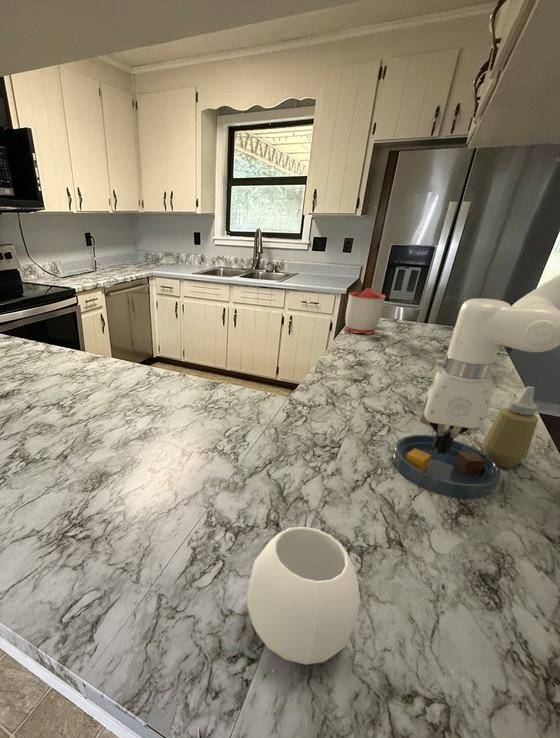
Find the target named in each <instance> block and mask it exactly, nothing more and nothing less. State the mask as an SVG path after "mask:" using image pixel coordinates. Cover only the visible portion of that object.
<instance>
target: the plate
mask: <svg viewBox="0 0 560 738" xmlns="http://www.w3.org/2000/svg"><path fill="white" fill-rule="evenodd" d="M434 437H435V435H430V434H412V435H408V436H404V437H402V438H401V439H400V438H399V440H397V442H396V444H395V445H394V449H393V453H392V457H391V459H392V465H393V466H394V468H395V469H396V470H397V472H399V473H400V474H401V475H402V476H403V477H404V478H406V479H407V480H408V481H410V482H411V483H414V485H415V484H416V485H417V486H419V487H421V488H424V489H426V490H428V491H431V492H433V493H436V494H440V495H443V496H448V497H452V498H460V499H481V498H484V497H487V496H490V495H491V494H492V493H493V492H494V491H495V490H496V488H497V485H498V483H499V481H500V479H501V469H500V466H498V465H497V464H496V463H495V462H494V461H493V460H492V459H491V458H490V457H489V456H487V455H486V454H484V453H483V452H482V451H481V450H479V449H478V448H475V447H473V446H471V445H469V444H466V443H464V442H462V441H458V440H455V439H453V442H452V445H451V448H450V450H449V449H447V452H446V455H444V454H442V453H440V454H438V453H436V450H435V447H433V440H434ZM415 448H416V449H418V450H420V451H423V452H425V453H427V454H430V455H431V458H430V461H429V464H428V467H427V469H426V470H425V471H421V470H419V469H417V468H415V467H414V466H412V465H411V464H410V463H408V462H407V461H406V460H405V459H406V456H407V453H409V452H410V451H412V450H413V449H415ZM459 452H476V453H477V454H478V455H479V456H480V457H481V458H482V459H483V460H484V461H485V463H484V466H483V468H482V471H481V473H480V475H466V474H462V473H461V472H460V471H459V470H458V469H457V468H456V466H455V465H454V464H455V462H456V459H457V456H458V454H459Z"/></svg>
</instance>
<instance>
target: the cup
mask: <svg viewBox="0 0 560 738" xmlns="http://www.w3.org/2000/svg"><path fill="white" fill-rule="evenodd" d="M360 605H361V593H360V586H359V580H358V576H357V572H356V568H355V566H354V564H353V561H352V560H351V557H350V555H349V553H348V552H347V550H346V549H345V547H344V546H343V544H342V543H341V542H340V541H339V540H337V539H336V538H335V537H334V536H333V535H331V534H329V533H327V532H325V531H323V530H320V529H318V528H314V527H307V526H298V527H297V526H295V527H289V528H287V529H285V530H283V531H280V532H279V533H277V534H276V535H275V536H274V537H272V538H271V540H269V542H268V543H267V544H266V546H265V547H264V548H263V550H261V552H260V553H259V555H257V557H256V559H254V562H253V567H252V570H251V574H250V579H249V585H248V592H247V610H248V613H249V616H250V621H251V623H252V626H253V628H254V630H255V633H256V634H257V636H258V637H259V638H260V640H261V641H262V642H263V643H264V645H265V646H266V648H267V649H268V650H270V651H272V652H273V653H275V654H276V655H277V656H278V657H281V658H282V659H284V660H285V661H288V662H293V663H298V664H301V665H307V666H308V665H312V664H313V665H314V664H320V663H325V662H326V661H327V660H329V659H331V658H332V657H334V656H335V655H337V654H338V653H339V652H341V650H343V649H344V648H346V647H347V645H348V642H349V640H350V638H351V636H352V633H353V631H354V628H355V625H356V623H357V620H358V617H359V611H360Z"/></svg>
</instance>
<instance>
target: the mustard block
mask: <svg viewBox="0 0 560 738" xmlns="http://www.w3.org/2000/svg"><path fill="white" fill-rule="evenodd" d="M430 458H431V455H430V454H427V453H425V452H423V451H420V450H418V449H416V448H415V449H413V450H412V451H410V452H409V453H407V456H406V459H405V460H406V461H407V462H408V463H410V464H411V465H412V466H414V467H415V468H417V469H419V470H421V471H425V470H426V469H427V467H428V464H429V461H430Z"/></svg>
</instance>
